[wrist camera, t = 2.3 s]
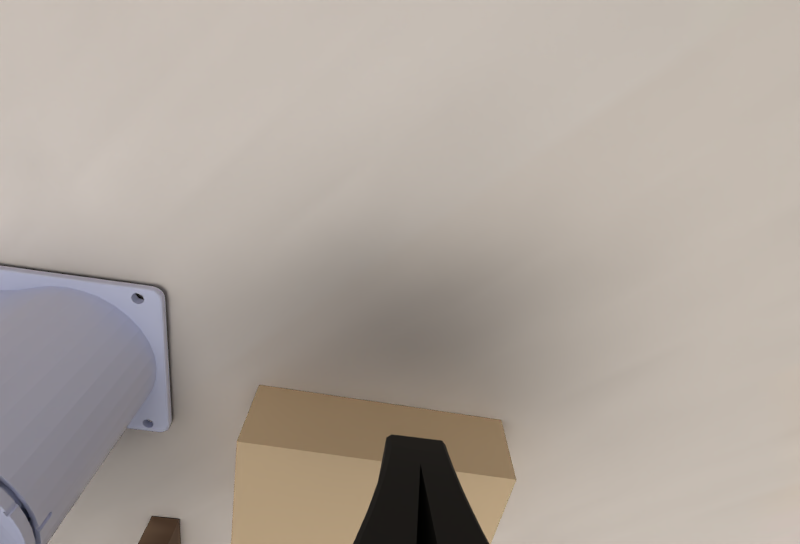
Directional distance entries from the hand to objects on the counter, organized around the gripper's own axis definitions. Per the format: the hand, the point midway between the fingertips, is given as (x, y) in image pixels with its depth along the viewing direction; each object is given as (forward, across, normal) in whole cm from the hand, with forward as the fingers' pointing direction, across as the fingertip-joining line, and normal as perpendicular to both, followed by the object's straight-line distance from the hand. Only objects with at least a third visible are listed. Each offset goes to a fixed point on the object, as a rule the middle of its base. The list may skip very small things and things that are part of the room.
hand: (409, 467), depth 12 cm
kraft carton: (+11, 0, +11) cm, 15 cm away
